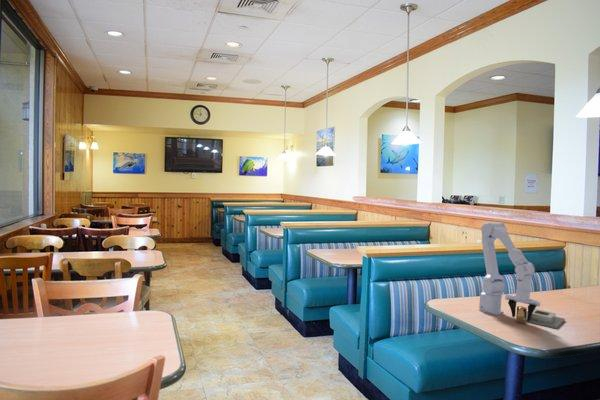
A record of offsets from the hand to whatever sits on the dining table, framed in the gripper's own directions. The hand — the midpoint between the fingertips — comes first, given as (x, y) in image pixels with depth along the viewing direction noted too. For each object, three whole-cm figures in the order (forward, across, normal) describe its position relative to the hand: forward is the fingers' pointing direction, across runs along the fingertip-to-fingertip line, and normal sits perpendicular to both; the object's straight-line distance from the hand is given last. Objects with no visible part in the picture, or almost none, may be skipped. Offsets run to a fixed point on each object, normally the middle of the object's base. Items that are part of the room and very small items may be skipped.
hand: (521, 318), depth 209 cm
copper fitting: (+2, 0, 0) cm, 2 cm away
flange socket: (+2, +6, +11) cm, 13 cm away
